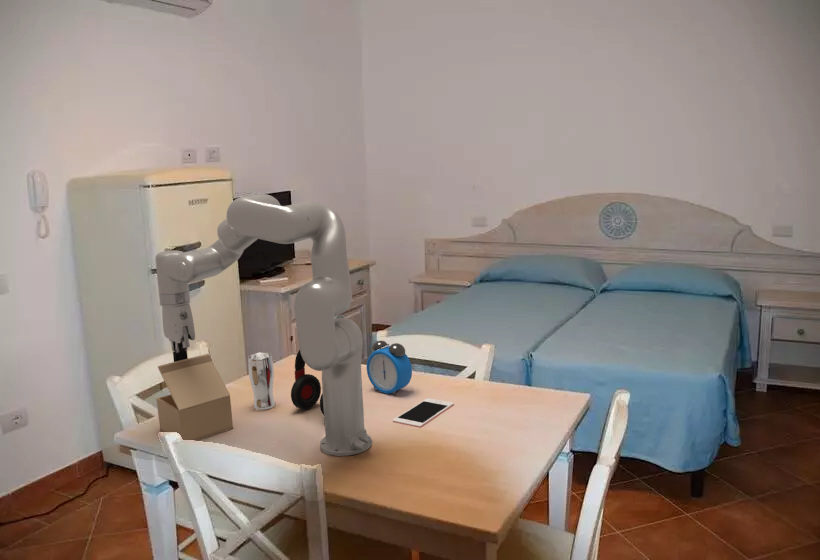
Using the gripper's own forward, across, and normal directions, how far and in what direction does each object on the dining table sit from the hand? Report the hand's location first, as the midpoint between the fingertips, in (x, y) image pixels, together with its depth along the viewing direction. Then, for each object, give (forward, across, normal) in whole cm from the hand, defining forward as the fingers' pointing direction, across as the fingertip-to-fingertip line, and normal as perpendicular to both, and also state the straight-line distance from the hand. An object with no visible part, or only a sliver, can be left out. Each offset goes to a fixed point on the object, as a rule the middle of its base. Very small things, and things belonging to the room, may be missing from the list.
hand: (181, 365), depth 185 cm
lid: (+3, -7, 0) cm, 8 cm away
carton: (+16, -6, 0) cm, 17 cm away
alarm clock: (+16, -22, -53) cm, 60 cm away
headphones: (+16, -21, -29) cm, 40 cm away
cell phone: (+16, -42, -48) cm, 66 cm away
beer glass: (+17, -4, -21) cm, 27 cm away
